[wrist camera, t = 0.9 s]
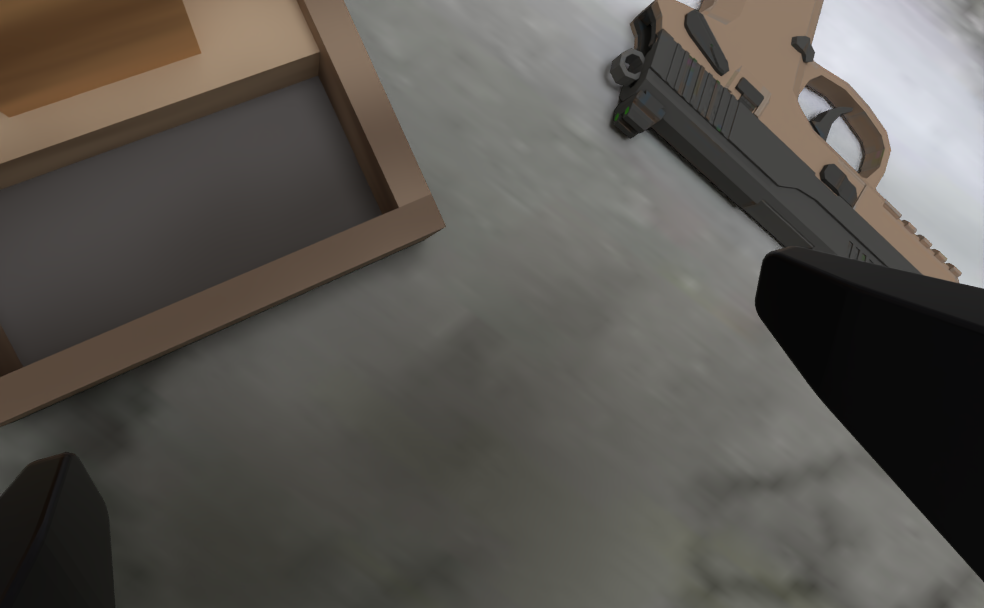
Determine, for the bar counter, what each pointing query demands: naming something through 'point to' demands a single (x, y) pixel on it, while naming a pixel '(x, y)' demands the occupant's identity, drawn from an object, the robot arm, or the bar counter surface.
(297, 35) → the tray box
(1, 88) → the block
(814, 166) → the handgun
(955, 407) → the robot arm
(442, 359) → the bar counter surface
